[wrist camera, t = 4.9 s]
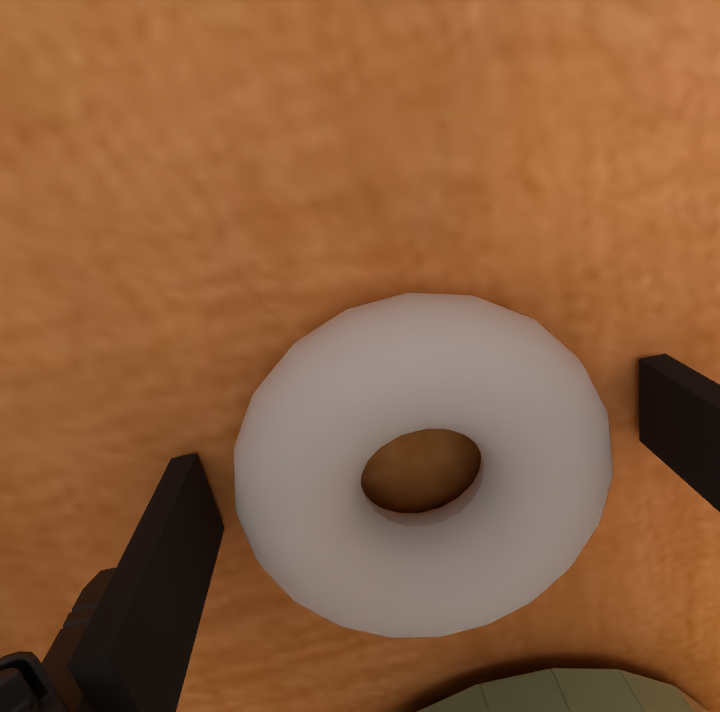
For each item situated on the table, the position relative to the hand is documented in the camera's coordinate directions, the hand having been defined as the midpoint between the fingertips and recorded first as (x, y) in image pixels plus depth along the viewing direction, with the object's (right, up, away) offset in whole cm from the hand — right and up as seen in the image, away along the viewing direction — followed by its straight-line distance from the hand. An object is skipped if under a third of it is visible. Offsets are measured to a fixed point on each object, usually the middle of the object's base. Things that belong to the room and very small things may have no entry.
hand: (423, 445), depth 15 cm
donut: (0, 0, 0) cm, 1 cm away
